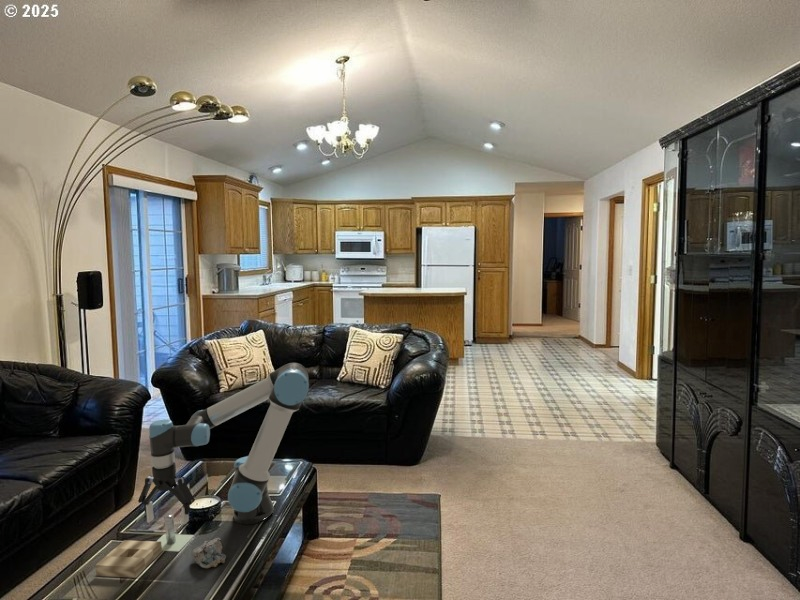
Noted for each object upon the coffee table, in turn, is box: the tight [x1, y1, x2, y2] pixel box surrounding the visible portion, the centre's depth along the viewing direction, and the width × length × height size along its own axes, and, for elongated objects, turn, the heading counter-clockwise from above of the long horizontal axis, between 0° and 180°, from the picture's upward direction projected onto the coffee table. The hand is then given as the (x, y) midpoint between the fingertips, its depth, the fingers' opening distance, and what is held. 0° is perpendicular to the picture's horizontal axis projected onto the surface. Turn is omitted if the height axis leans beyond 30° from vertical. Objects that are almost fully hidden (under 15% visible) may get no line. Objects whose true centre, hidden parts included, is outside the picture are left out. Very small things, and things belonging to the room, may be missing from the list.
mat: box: [156, 533, 195, 552], centre depth 182 cm, size 12×10×1 cm
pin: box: [163, 513, 176, 545], centre depth 181 cm, size 3×3×10 cm
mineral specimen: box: [192, 537, 227, 569], centre depth 170 cm, size 10×8×10 cm
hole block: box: [95, 539, 163, 578], centre depth 170 cm, size 14×14×4 cm
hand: (168, 521), depth 181 cm, fingers open, 13 cm apart
